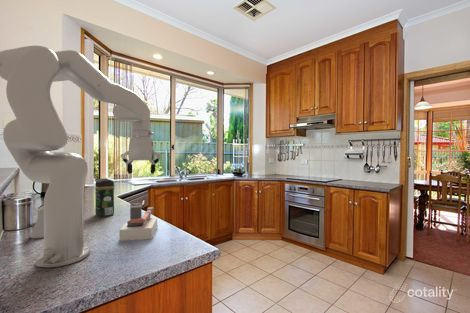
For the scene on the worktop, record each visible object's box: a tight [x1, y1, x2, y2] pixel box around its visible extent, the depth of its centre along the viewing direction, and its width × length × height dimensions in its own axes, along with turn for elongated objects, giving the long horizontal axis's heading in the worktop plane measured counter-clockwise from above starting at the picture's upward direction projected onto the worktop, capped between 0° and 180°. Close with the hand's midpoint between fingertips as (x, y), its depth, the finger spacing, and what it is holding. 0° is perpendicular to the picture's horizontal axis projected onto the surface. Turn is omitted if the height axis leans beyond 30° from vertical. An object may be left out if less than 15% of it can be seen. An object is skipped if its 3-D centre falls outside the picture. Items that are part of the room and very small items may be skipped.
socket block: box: [118, 216, 158, 242], centre depth 89 cm, size 14×11×6 cm
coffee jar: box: [94, 177, 115, 218], centre depth 116 cm, size 10×8×19 cm
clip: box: [130, 206, 154, 223], centre depth 93 cm, size 18×6×2 cm, turn 11°
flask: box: [29, 209, 44, 239], centre depth 86 cm, size 7×7×10 cm
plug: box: [126, 202, 144, 227], centre depth 88 cm, size 6×6×12 cm
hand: (141, 173), depth 101 cm, fingers open, 9 cm apart
